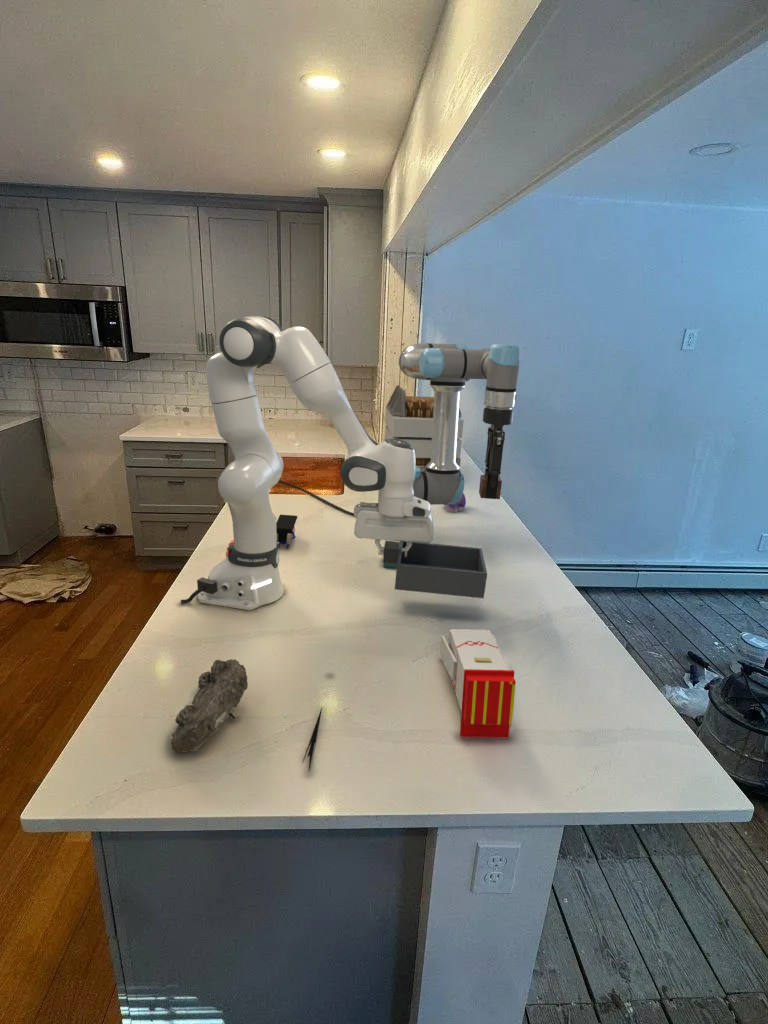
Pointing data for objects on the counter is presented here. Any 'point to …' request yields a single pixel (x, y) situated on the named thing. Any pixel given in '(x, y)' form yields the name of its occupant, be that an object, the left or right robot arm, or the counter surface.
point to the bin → (438, 568)
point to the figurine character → (285, 529)
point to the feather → (313, 740)
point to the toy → (479, 682)
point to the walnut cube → (484, 483)
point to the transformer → (415, 424)
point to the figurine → (457, 505)
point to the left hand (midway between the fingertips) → (392, 555)
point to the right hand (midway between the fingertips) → (489, 494)
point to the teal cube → (389, 565)
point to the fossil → (210, 704)
